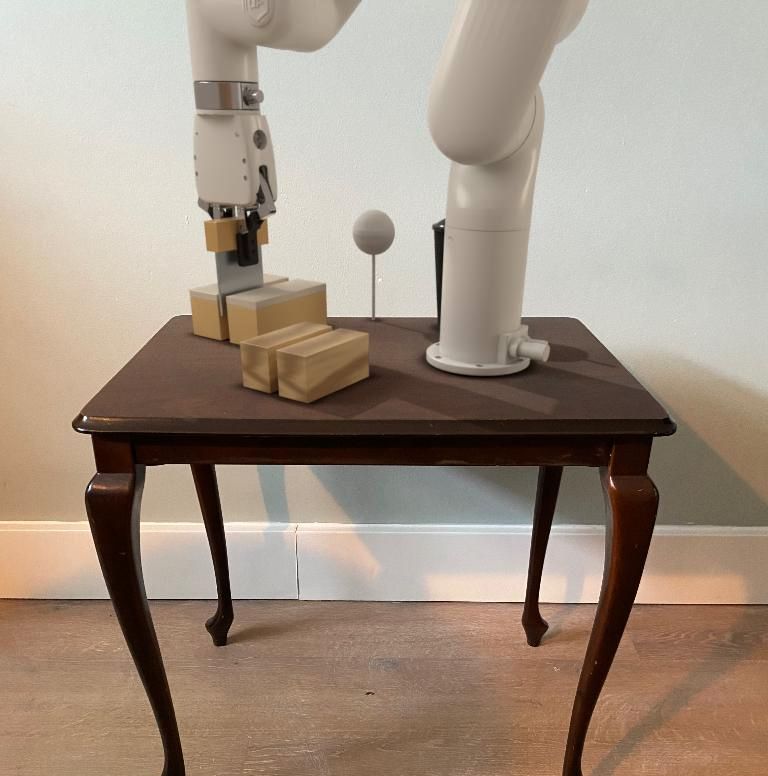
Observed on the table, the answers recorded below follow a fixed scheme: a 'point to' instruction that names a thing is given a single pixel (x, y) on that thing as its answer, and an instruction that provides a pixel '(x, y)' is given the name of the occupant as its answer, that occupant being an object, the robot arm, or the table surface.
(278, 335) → the split wooden block
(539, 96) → the robot arm
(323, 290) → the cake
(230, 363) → the table surface
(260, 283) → the knife
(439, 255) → the drinking cup
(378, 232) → the lollipop
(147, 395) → the table surface
